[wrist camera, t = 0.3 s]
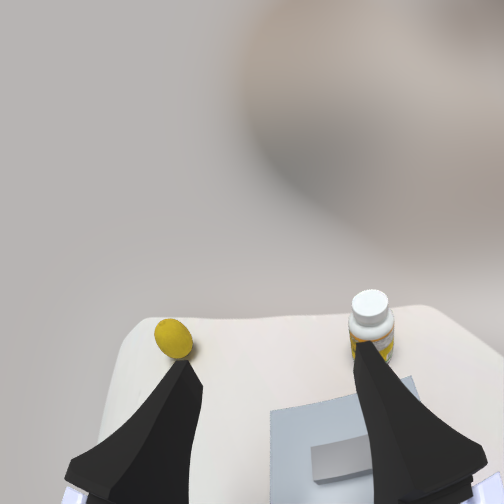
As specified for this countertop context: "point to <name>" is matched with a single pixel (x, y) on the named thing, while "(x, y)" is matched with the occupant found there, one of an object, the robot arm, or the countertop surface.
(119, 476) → the robot arm
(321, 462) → the lid
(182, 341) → the lemon
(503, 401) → the countertop surface
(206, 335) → the countertop surface
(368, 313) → the supplement bottle
